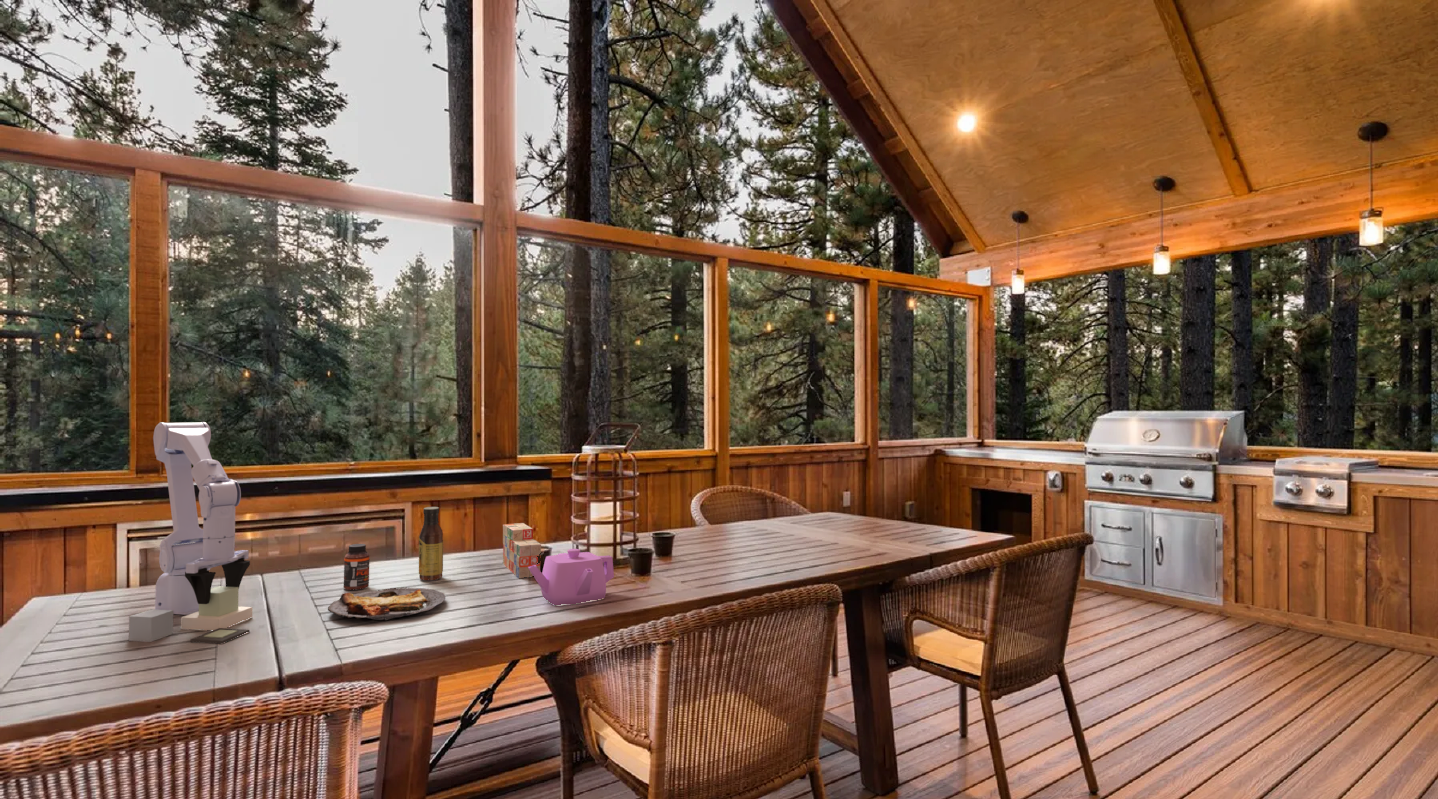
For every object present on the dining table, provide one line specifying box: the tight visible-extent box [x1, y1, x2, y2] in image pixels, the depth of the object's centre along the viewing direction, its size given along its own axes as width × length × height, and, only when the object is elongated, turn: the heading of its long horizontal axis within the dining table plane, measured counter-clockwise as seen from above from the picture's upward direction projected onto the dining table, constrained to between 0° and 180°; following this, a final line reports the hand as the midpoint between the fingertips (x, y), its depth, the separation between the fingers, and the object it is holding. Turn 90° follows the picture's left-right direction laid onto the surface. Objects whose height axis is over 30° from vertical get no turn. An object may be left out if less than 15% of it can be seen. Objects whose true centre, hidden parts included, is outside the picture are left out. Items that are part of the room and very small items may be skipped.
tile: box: [190, 628, 250, 644], centre depth 145 cm, size 7×7×1 cm
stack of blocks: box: [502, 522, 542, 579], centre depth 207 cm, size 21×6×12 cm, turn 29°
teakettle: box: [528, 548, 615, 605], centre depth 177 cm, size 17×17×12 cm
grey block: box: [128, 608, 174, 643], centre depth 144 cm, size 5×5×5 cm
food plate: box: [327, 586, 446, 621], centre depth 166 cm, size 25×23×4 cm
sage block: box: [199, 585, 240, 616], centre depth 153 cm, size 5×5×5 cm
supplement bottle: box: [343, 543, 371, 591], centre depth 184 cm, size 6×6×11 cm
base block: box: [180, 605, 253, 631], centre depth 154 cm, size 9×9×3 cm
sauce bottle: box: [418, 506, 444, 582], centre depth 194 cm, size 6×6×20 cm
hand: (218, 598), depth 154 cm, fingers open, 7 cm apart
